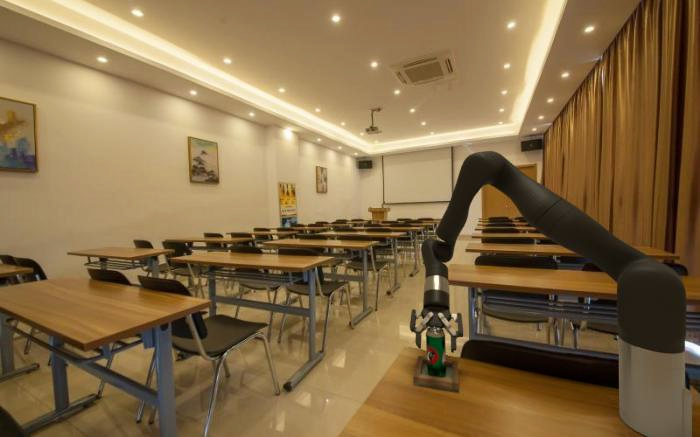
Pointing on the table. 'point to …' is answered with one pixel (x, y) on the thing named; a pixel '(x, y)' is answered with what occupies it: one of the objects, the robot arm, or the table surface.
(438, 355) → the soda can
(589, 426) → the table surface
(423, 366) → the tray
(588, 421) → the table surface
